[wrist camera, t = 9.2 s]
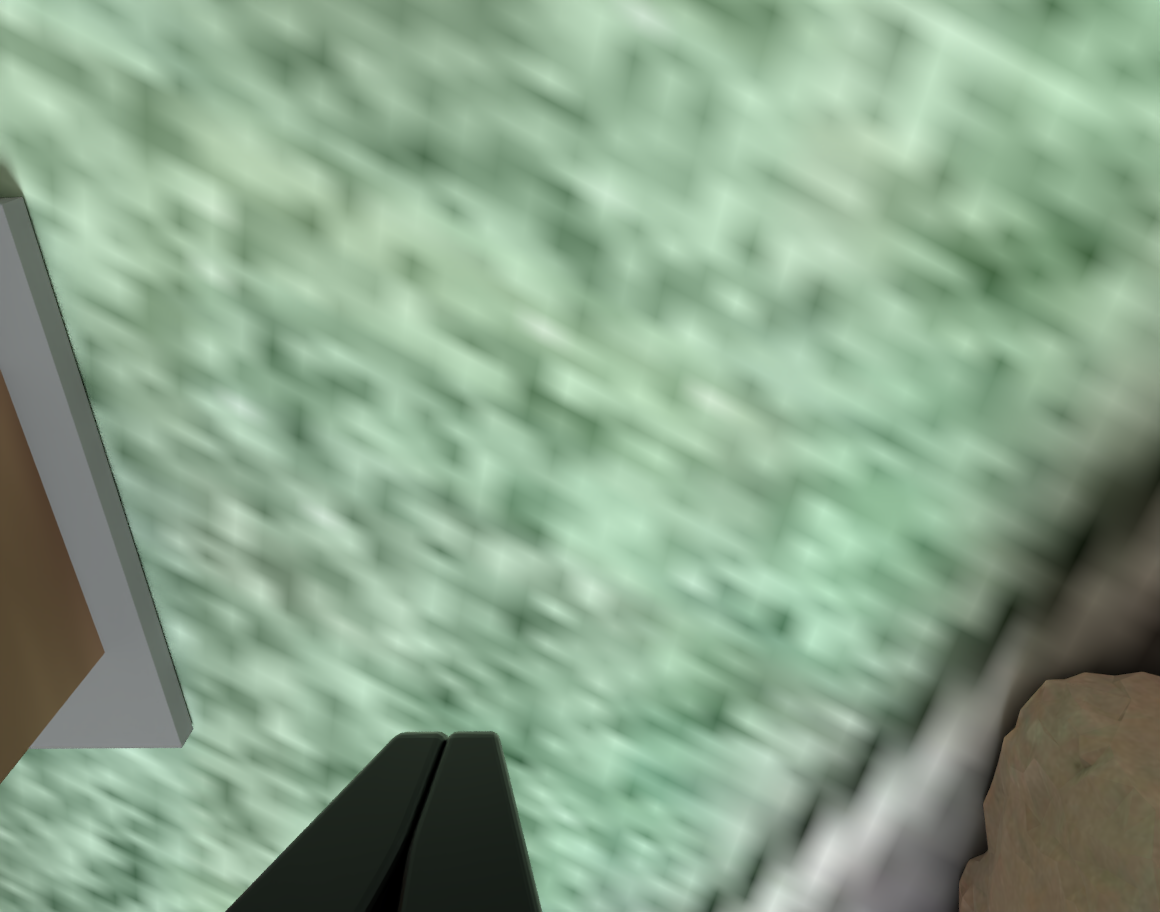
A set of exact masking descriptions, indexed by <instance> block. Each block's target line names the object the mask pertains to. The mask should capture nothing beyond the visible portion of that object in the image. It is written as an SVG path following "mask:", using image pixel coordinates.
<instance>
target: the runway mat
mask: <svg viewBox="0 0 1160 912" xmlns="http://www.w3.org/2000/svg"><path fill="white" fill-rule="evenodd" d="M0 370H1V372H2V375H3V378H4V381H5V383H6V386H7V389H8V391H9V394H10V397H11V399H12V402H13V405H14V408H15V410H16V413H17V416H18V418H19V421H20V424H21V427H22V429H23V432H24V435H25V437H26V440H27V443H28V446H29V448H30V451H31V454H32V456H33V459H34V462H35V465H36V467H37V470H38V473H39V475H40V478H41V481H42V483H43V486H44V489H45V492H46V494H47V497H48V500H49V502H50V505H51V508H52V511H53V513H54V516H55V519H56V521H57V524H58V527H59V530H60V532H61V535H62V538H63V540H64V543H65V546H66V549H67V551H68V554H69V557H70V559H71V562H72V565H73V567H74V570H75V573H76V576H77V578H78V581H79V584H80V586H81V589H82V592H83V595H84V597H85V600H86V603H87V605H88V608H89V611H90V614H91V616H92V619H93V622H94V624H95V627H96V630H97V633H98V635H99V638H100V641H101V643H102V646H103V649H104V651H105V653H104V654H103V656H102V657H101V658H100V659H99V661H98V662H97V663H96V664H95V666H94V667H93V668H92V669H91V671H90V672H89V673H88V675H87V676H86V677H85V678H84V680H83V681H82V682H81V683H80V685H79V686H78V687H77V688H76V690H75V691H74V692H73V693H72V695H71V696H70V697H69V698H68V700H67V701H66V702H65V703H64V705H63V706H62V707H61V708H60V710H59V711H58V712H57V713H56V715H55V716H54V717H53V718H52V720H51V721H50V722H49V723H48V725H47V726H46V727H45V728H44V730H43V731H42V732H41V734H40V735H39V736H38V737H37V739H36V740H35V741H34V742H33V744H32V745H31V746H30V747H29V749H51V748H182V747H183V745H184V744H185V742H186V740H187V739H188V737H189V735H190V734H191V732H192V730H193V726H192V723H191V720H190V717H189V714H188V711H187V707H186V704H185V701H184V698H183V695H182V692H181V689H180V686H179V683H178V679H177V676H176V673H175V670H174V667H173V664H172V661H171V658H170V655H169V651H168V648H167V645H166V642H165V639H164V636H163V633H162V630H161V626H160V623H159V620H158V617H157V614H156V611H155V608H154V605H153V602H152V598H151V595H150V592H149V589H148V586H147V583H146V580H145V577H144V574H143V570H142V567H141V564H140V561H139V558H138V555H137V552H136V549H135V545H134V542H133V539H132V536H131V533H130V530H129V527H128V524H127V521H126V517H125V514H124V511H123V508H122V505H121V502H120V499H119V496H118V493H117V489H116V486H115V483H114V480H113V477H112V474H111V471H110V468H109V464H108V461H107V458H106V455H105V452H104V449H103V446H102V443H101V440H100V436H99V433H98V430H97V427H96V424H95V421H94V418H93V415H92V412H91V408H90V405H89V402H88V399H87V396H86V393H85V390H84V387H83V383H82V380H81V377H80V374H79V371H78V368H77V365H76V362H75V359H74V355H73V352H72V349H71V346H70V343H69V340H68V337H67V334H66V330H65V327H64V324H63V321H62V318H61V315H60V312H59V309H58V306H57V302H56V299H55V296H54V293H53V290H52V287H51V284H50V281H49V278H48V274H47V271H46V268H45V265H44V262H43V259H42V256H41V253H40V249H39V246H38V243H37V240H36V237H35V234H34V231H33V228H32V225H31V221H30V218H29V215H28V212H27V209H26V206H25V203H24V200H23V197H11V198H0Z"/></svg>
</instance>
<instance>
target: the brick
mask: <svg viewBox="0 0 1160 912" xmlns="http://www.w3.org/2000/svg"><path fill="white" fill-rule="evenodd" d="M983 809H984V817H985V825H986V834H987V843H988V850H987V851H986V852H985V853H984V854H982V855H979V856H977V857H975V858H972V859H970V860H969V861H968V863H967V865H966V867H965V870H964V872H963V874H962V877H961V879H960V881H959V912H1160V676H1157V675H1153V674H1149V673H1146V672H1136V673H1129V674H1123V675H1116V676H1113V675H1104V674H1096V673H1087V672H1084V673H1081V674H1078V675H1075V676H1072V677H1070V678H1067V679H1053V680H1046V681H1045V682H1044V683H1043V684H1042V686H1041V687H1040V688H1039V689H1038V690H1037V691H1036V692H1035V693H1034V695H1033V696H1032V697H1031V698H1030V699H1029V700H1028V701H1027V702H1026V704H1025V705H1024V706H1023V707H1022V708H1021V709H1020V713H1019V716H1018V720H1017V723H1016V727H1015V728H1014V729H1013V730H1012V731H1011V732H1010V733H1009V734H1007V735H1006V736H1005V737H1004V740H1003V744H1002V749H1001V753H1000V757H999V762H998V765H997V768H996V771H995V775H994V778H993V781H992V784H991V787H990V789H989V791H988V794H987V796H986V798H985V800H984V803H983Z"/></svg>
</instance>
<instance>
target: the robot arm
mask: <svg viewBox="0 0 1160 912" xmlns="http://www.w3.org/2000/svg"><path fill="white" fill-rule="evenodd" d="M225 912H542V909H541V905H540V901H539V896H538V892H537V888H536V884H535V880H534V876H533V872H532V868H531V864H530V860H529V855H528V851H527V847H526V843H525V839H524V835H523V831H522V827H521V823H520V819H519V814H518V810H517V806H516V802H515V798H514V794H513V790H512V786H511V782H510V778H509V773H508V769H507V765H506V761H505V757H504V753H503V749H502V745H501V741H500V738H499V736H498V735H497V733H495V732H491V731H474V732H454V733H453V734H451V735H450V736H449V737H448V736H447V735H446V734H444V733H442V732H404V733H400V734H399V735H397V736H395V737H394V738H393V739H392V740H391V741H390V742H389V743H388V744H387V745H386V746H385V747H384V748H383V749H382V750H381V751H380V752H379V753H378V754H377V755H376V756H375V757H374V758H373V759H372V760H371V761H370V762H369V763H368V765H367V766H366V767H365V768H364V769H363V770H362V771H361V772H360V773H359V774H358V775H357V776H356V777H355V778H354V779H353V780H352V781H351V782H350V783H349V784H348V785H347V786H346V787H345V788H344V789H343V790H342V791H341V792H340V793H339V795H338V796H337V797H336V798H335V799H334V800H333V801H332V802H331V803H330V804H329V805H328V806H327V807H326V808H325V809H324V810H323V811H322V812H321V813H320V814H319V815H318V816H317V817H316V818H315V819H314V820H313V821H312V822H311V823H310V825H309V826H308V827H307V828H306V829H305V830H304V831H303V832H302V833H301V834H300V835H299V836H298V837H297V838H296V839H295V840H294V841H293V842H292V843H291V844H290V845H289V846H288V847H287V848H286V849H285V850H284V851H283V852H282V853H281V855H280V856H279V857H278V858H277V859H276V860H275V861H274V862H273V863H272V864H271V865H270V866H269V867H268V868H267V869H266V870H265V871H264V872H263V873H262V874H261V875H260V876H259V877H258V878H257V879H256V880H255V881H254V882H253V883H252V885H251V886H250V887H249V888H248V889H247V890H246V891H245V892H244V893H243V894H242V895H241V896H240V897H239V898H238V899H237V900H236V901H235V902H234V903H233V904H232V905H231V906H230V907H229V908H228V909H227V910H226V911H225Z"/></svg>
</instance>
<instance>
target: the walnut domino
mask: <svg viewBox="0 0 1160 912" xmlns="http://www.w3.org/2000/svg"><path fill="white" fill-rule="evenodd" d="M104 653H105V651H104V649H103V646H102V643H101V641H100V638H99V635H98V633H97V630H96V627H95V624H94V622H93V619H92V616H91V614H90V611H89V608H88V605H87V603H86V600H85V597H84V595H83V592H82V589H81V586H80V584H79V581H78V578H77V576H76V573H75V570H74V567H73V565H72V562H71V559H70V557H69V554H68V551H67V549H66V546H65V543H64V540H63V538H62V535H61V532H60V530H59V527H58V524H57V521H56V519H55V516H54V513H53V511H52V508H51V505H50V502H49V500H48V497H47V494H46V492H45V489H44V486H43V483H42V481H41V478H40V475H39V473H38V470H37V467H36V465H35V462H34V459H33V456H32V454H31V451H30V448H29V446H28V443H27V440H26V437H25V435H24V432H23V429H22V427H21V424H20V421H19V418H18V416H17V413H16V410H15V408H14V405H13V402H12V399H11V397H10V394H9V391H8V389H7V386H6V383H5V381H4V378H3V375H2V372H1V370H0V784H1V782H2V781H3V780H4V779H5V777H6V776H7V775H8V774H9V772H10V771H11V770H12V769H13V767H14V766H15V765H16V764H17V762H18V761H19V760H20V759H21V757H22V756H23V755H24V754H25V752H26V751H27V750H28V749H29V747H30V746H31V745H32V744H33V742H34V741H35V740H36V739H37V737H38V736H39V735H40V734H41V732H42V731H43V730H44V728H45V727H46V726H47V725H48V723H49V722H50V721H51V720H52V718H53V717H54V716H55V715H56V713H57V712H58V711H59V710H60V708H61V707H62V706H63V705H64V703H65V702H66V701H67V700H68V698H69V697H70V696H71V695H72V693H73V692H74V691H75V690H76V688H77V687H78V686H79V685H80V683H81V682H82V681H83V680H84V678H85V677H86V676H87V675H88V673H89V672H90V671H91V669H92V668H93V667H94V666H95V664H96V663H97V662H98V661H99V659H100V658H101V657H102V656H103V654H104Z"/></svg>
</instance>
